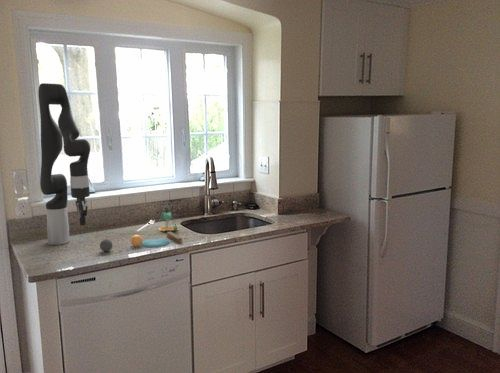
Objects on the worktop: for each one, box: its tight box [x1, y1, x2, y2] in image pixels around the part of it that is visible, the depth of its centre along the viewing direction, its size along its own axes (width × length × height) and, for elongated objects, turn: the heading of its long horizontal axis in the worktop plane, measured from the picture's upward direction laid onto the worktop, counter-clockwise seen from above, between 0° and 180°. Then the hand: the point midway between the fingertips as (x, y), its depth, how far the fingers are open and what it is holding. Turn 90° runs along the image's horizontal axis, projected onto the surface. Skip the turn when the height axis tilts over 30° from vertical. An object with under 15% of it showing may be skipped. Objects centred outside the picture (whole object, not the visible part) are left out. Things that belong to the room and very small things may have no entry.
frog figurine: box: [158, 205, 180, 235], centre depth 234 cm, size 10×18×15 cm, turn 30°
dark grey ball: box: [99, 239, 113, 253], centre depth 200 cm, size 6×6×6 cm
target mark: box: [140, 238, 171, 249], centre depth 212 cm, size 14×14×1 cm
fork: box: [136, 219, 155, 232], centre depth 243 cm, size 3×20×2 cm, turn 169°
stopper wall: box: [166, 231, 183, 245], centre depth 217 cm, size 2×14×2 cm, turn 32°
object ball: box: [129, 234, 143, 248], centre depth 207 cm, size 6×6×6 cm
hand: (82, 224), depth 193 cm, fingers closed
